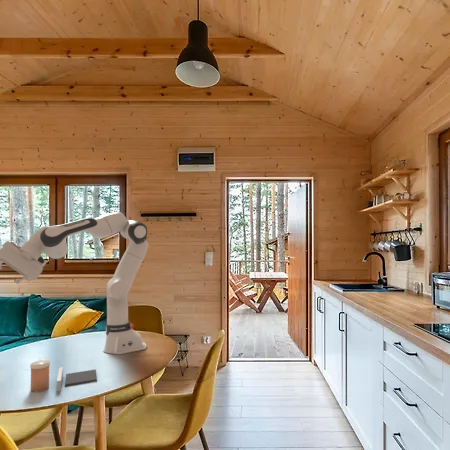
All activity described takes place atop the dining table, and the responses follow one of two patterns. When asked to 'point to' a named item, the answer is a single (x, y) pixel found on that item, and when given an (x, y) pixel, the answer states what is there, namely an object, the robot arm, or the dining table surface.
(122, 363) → the dining table surface
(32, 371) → the jar
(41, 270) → the robot arm
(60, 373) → the divider
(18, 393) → the dining table surface
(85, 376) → the plate
